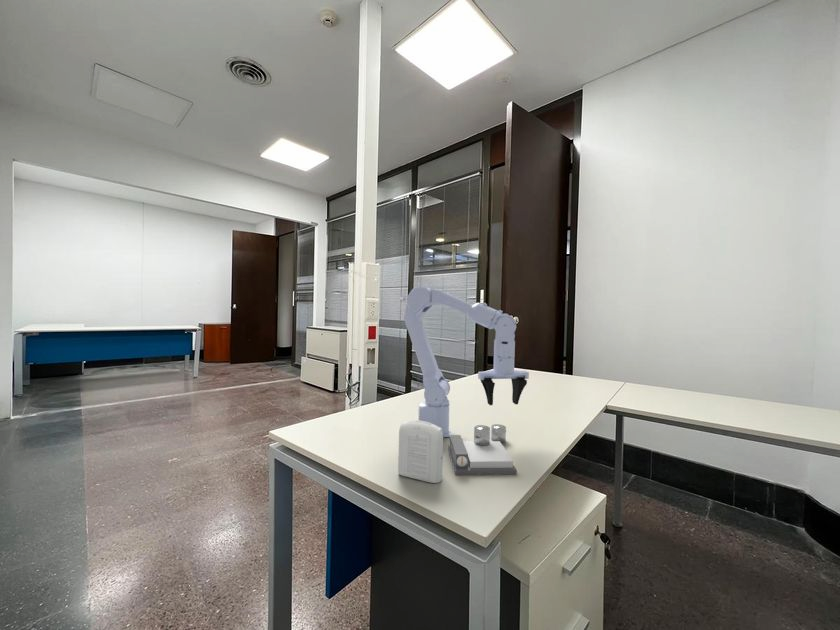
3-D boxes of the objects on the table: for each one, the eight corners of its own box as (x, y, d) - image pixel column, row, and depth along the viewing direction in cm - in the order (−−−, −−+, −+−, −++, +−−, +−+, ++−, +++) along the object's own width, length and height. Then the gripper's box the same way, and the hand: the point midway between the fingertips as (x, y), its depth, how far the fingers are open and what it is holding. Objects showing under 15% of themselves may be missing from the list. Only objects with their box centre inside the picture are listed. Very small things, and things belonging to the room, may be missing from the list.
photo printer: (445, 476, 73) (445, 421, 73) (439, 486, 69) (439, 428, 69) (403, 467, 77) (403, 415, 77) (395, 476, 73) (395, 421, 73)
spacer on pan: (475, 446, 83) (476, 430, 83) (472, 439, 87) (472, 425, 87) (491, 446, 83) (491, 430, 83) (487, 439, 87) (487, 425, 87)
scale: (455, 474, 74) (455, 456, 74) (448, 449, 87) (448, 433, 87) (516, 474, 74) (516, 456, 74) (500, 448, 87) (500, 433, 87)
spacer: (493, 443, 91) (493, 429, 91) (489, 437, 95) (489, 424, 95) (507, 443, 91) (507, 429, 91) (503, 437, 95) (503, 424, 95)
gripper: (485, 359, 88) (483, 409, 88) (534, 358, 90) (533, 407, 91) (476, 355, 95) (474, 401, 95) (522, 354, 97) (521, 399, 98)
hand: (502, 403), depth 94 cm, fingers open, 7 cm apart
